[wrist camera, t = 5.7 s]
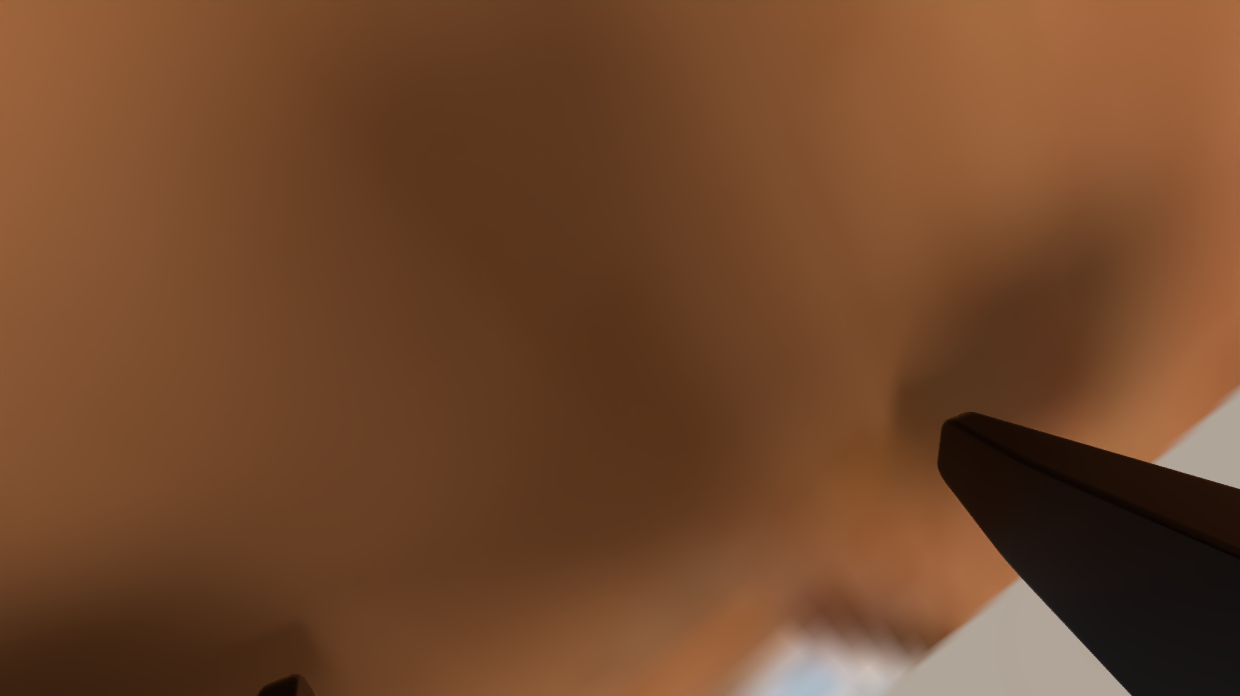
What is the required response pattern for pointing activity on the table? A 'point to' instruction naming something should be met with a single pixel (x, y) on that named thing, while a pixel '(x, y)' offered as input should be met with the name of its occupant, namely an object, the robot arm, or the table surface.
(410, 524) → the table surface
